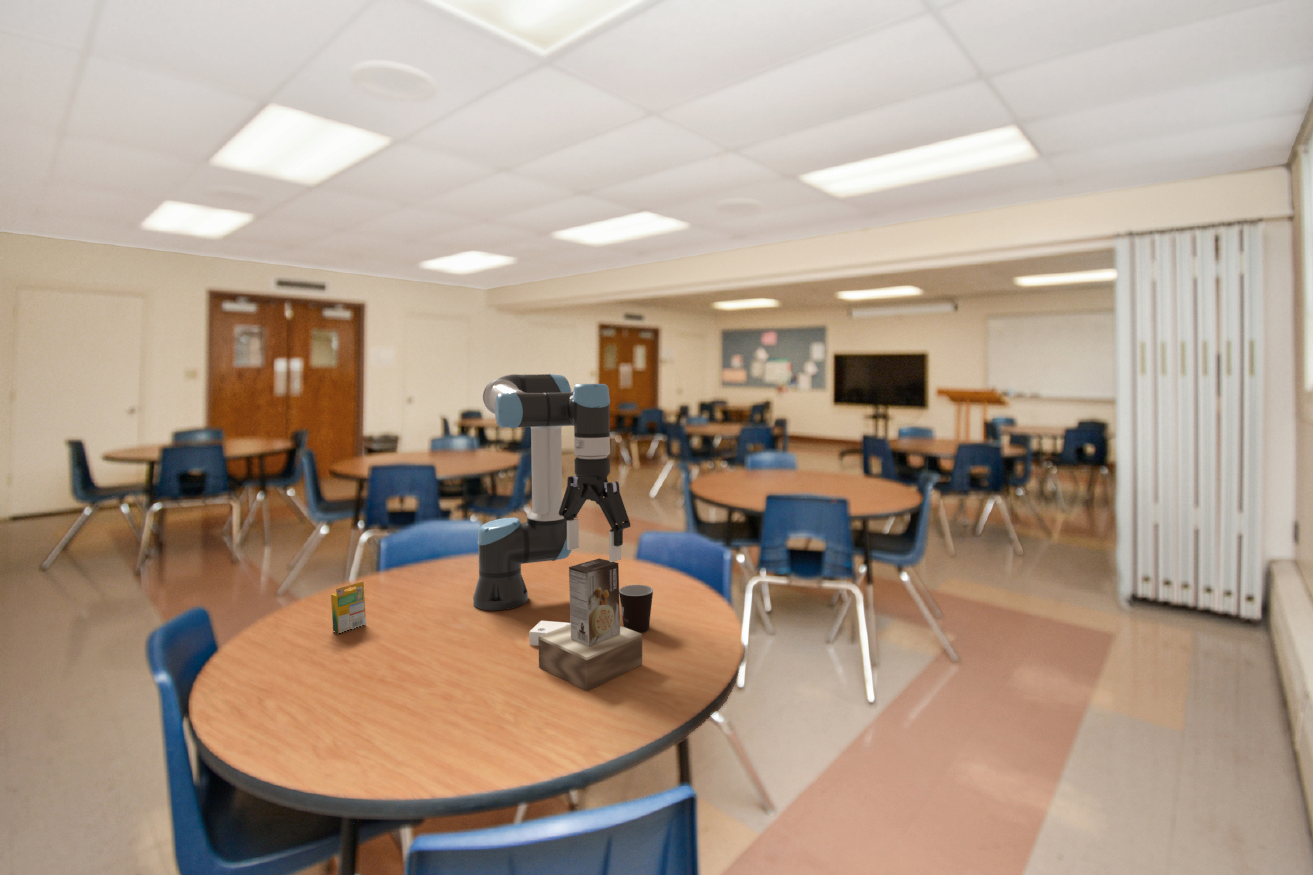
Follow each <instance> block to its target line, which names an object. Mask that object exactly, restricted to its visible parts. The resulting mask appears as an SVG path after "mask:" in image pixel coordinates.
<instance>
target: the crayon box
mask: <svg viewBox="0 0 1313 875" xmlns="http://www.w3.org/2000/svg"><path fill="white" fill-rule="evenodd" d="M335 589H336V592H335V593H332V594H330V602H331V616H332V617H331V618H332V619H331V620H332V632H333V631H335V632H336V633H335V632H334V633H335V634H337V633H341V634H343V633H345V632H344V631H346V632H348V631H347V630H349V629H352V630H355V629H356V628H355V627H358V628H360V627H359V626H361V625H365V626H366V625H367V619H366V618H367V617H366V603H365V584H364V581H361V582H357V583H353V584H349V585H346V586H343V587H339V588H335ZM361 627H362V626H361ZM354 628H355V629H354ZM349 631H350V630H349ZM342 632H343V633H342Z"/></svg>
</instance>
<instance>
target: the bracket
mask: <svg viewBox="0 0 1313 875" xmlns="http://www.w3.org/2000/svg"><path fill="white" fill-rule="evenodd" d="M569 621H570V622H564V621H563V622H562V621H550V620H549V621H548V620H540V621H538V623H537V624H536V625H535V626H534V627H533V628H532V629H530V630H529V633H528V634H529V636H528V637H529V645H530V646H536V647H537V646H538V647H539V645H538V636H540V635H543V634H545V633H548V632H551V631H554V630H556V629H559V628H562V627H565V626H567V625H570V624H571V620H569Z"/></svg>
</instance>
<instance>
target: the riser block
mask: <svg viewBox="0 0 1313 875" xmlns="http://www.w3.org/2000/svg"><path fill="white" fill-rule="evenodd" d="M538 645H539V646H538V667H539V669H542V670H543V671H546V672H548V673H550V674H552V675H554V676H556V677H558V678H560V679H562V680H564V681H565V682H568V683H570V684H572V685H574V686H576V687H578V688H580V689H583V690H584V691H586V692H589V691H591V690H593V689H594V688H596V687H599V686H600V685H603V684H605V683H608V682H609V681H611V680H613V679H616V678H618V677H619V676H622V675H624V674H626V673H628V672H630V671H632V670H634V669H636V668H638V667H641V666H642V665H643V633H638V632H636V631H633V630H630V629H628V628H625V627H624V626H623V625H620V634H618V635H616V636H613V637H611V638H608V639H606V640H604V641H601V642H599V643H597V644H594V645H592V646H587V645H585V644H583V643H580V642H578V641H575V640H573V639H571V624H570V625H567V626H565V627H562V628H559V629H556V630H554V631H551V632H548V633H545V634H543V635H540V636H538Z"/></svg>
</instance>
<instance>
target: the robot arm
mask: <svg viewBox="0 0 1313 875" xmlns="http://www.w3.org/2000/svg"><path fill="white" fill-rule="evenodd" d="M482 402H483V403H484V406H485V407H486V409H487V410H488V411H489V412H490V413H492V414H494V416H495V418H494V419H495V421H496V425H497V426H498V427H500V428H510V429H516V428H530V433H531V434H530V439H531V440H530V442H531V444H530V447H531V448H530V449H531V452H530V453H531V511H529V513H528V514H527V515H526V521H525V522H521V521H520V519H519V518H517V517H503V518H499V519H494V520H491V521H488V522H486V523H484V524H482V525H481V526H480V527H479V529H478V532H477V541H476V544H477V546H478V579H477V582H476V587H475V589H474V593H473V596H472V598H473V602H472V603H473V606H474V608H477V609H479V610H483V611H505V610H511V609H515V608H518V607H521V606H523V605H525V604H526V603H527V602H528V601H529V600H528V599H529V591H528V588H527V587H526V586H527V585H526V583H525V581H524V579H523V575H522V564H532V563H540V562H550V561H551V562H554V561H558V560H563V559H566V558H568V557H569V556H570V554H571V553H572V550H575V549H578V548H580V546H579V540H580V536H579V519H578V514H579V512H580V511H581V510H582V507H583V506H584V504H585V503H586V501H588V500H589V501H591V502H595V504H597V505H599V507H600V510H601V511H602V513H603V515H604V517H605V519H606V521H607V522H608V525H609V526H610V530H608V556H609V558H608V561H609V562H618V561H622V546H623V544H624V541H623V540H624V535H623V532H624V530H625V529H628V528H631V522H630V519H629V516H628V513H627V510H626V507H625V503H624V501H623V498H622V495H621V491H620V483H619V481H617V480H615V481H612V482H611V481H610V482H609V480H608V476H609V475H610V473H611V459H610V457H609V456H610V455H611V437H610V435H611V434H610V431H611V430H610V428H611V426H610V423H611V422H610V421H611V420H610V419H611V418H610V416H611V414H610V411H611V410H610V409H611V408H610V407H611V406H610V404H611V398H610V388H609V386H608V385H607V384H605V383H576V384H575V385H574V387H573V391H572V388H571V385H570V383H569V381H568V379H567V378H566V377H565V376H564V375H562V374H551V373H548V374H547V373H545V374H544V373H543V374H537V373H536V374H515V373H514V374H507V375H502V376H500V377H497V378H495V379H493V380H491V381H490V382H489V383H488V384H487V385H486V386H485V387H484V390H483V394H482ZM572 426H573V429H574V430H573V432H574V433H573V434H574V435H573V436H574V439H573V441H574V444H573V445H574V455H575V456H577V457H575V459H574V474H575V475H570V476H568V477H567V484H566V488H565V492H564V494H563V470H562V469H563V465H562V464H563V462H562V460H563V459H562V458H563V457H562V452H563V451H562V450H563V448H562V443H563V442H562V427H572Z"/></svg>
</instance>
